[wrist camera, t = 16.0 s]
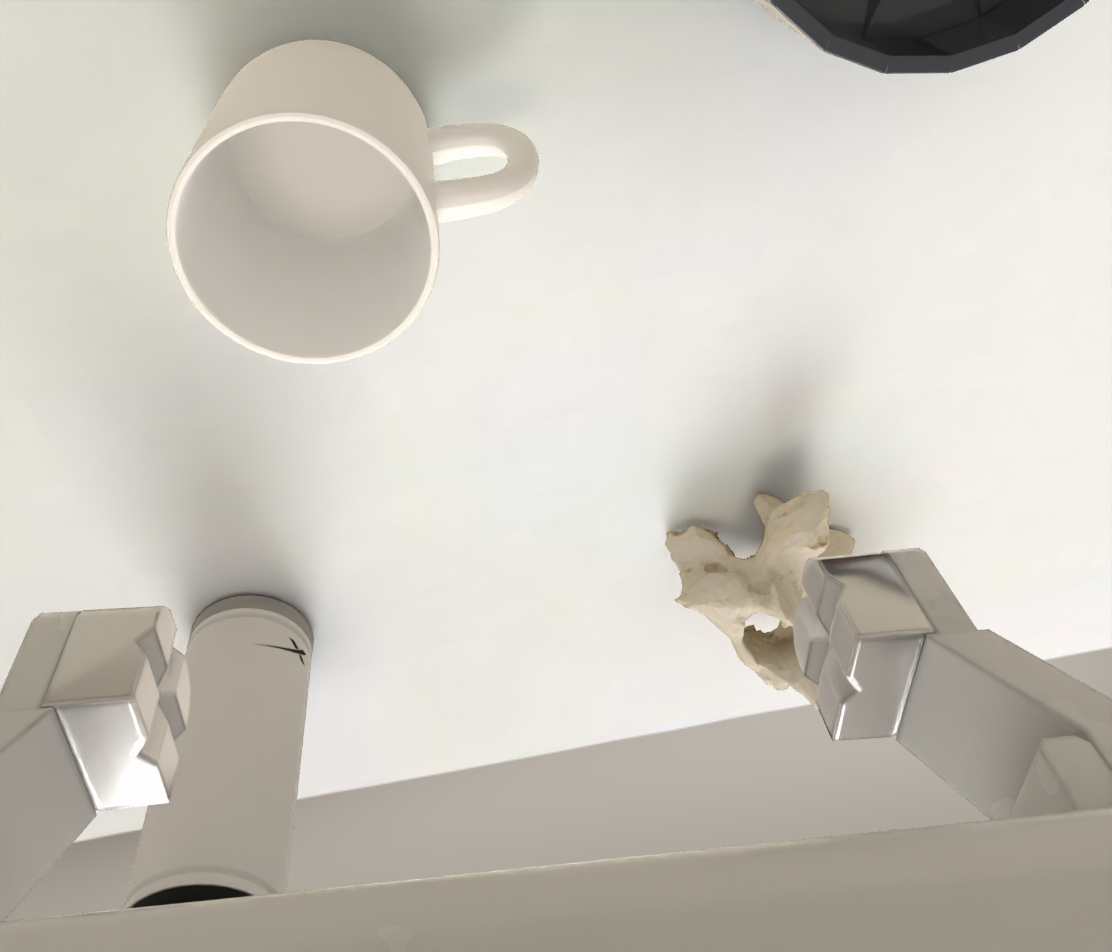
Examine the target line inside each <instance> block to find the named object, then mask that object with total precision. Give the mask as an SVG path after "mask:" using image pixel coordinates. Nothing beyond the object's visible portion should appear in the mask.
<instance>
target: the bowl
mask: <svg viewBox="0 0 1112 952" xmlns="http://www.w3.org/2000/svg"><path fill="white" fill-rule="evenodd" d="M756 1H757V2H759V3H760V4H761V5H762V6H763V7H764V8H765V9H766V10H767V11H769V12H770V13H771V14H772V15H773V16H774V17H775V18H777V19H778V20H779V21H781V22H782V23H784V24H785V25H787V26H788V27H789V28H791V29H792V30H794V31H795V32H797V33H798V34H799V35H801V36H802V37H804V38H805V39H806V40H808V41H809V42H811V43H812V44H814V45H815V46H816V47H818V48H819V49H821V50H822V51H824V52H826V53H829V54H831V55H834V56H837V57H839V58H842V59H845V60H848V61H850V62H853V63H856V64H858V65H861V66H864V67H866V68H869V69H872V70H875V71H877V72H880V73H885V74H908V73H950V72H951V73H952V72H955V71H958V70H961V69H964V68H967V67H970V66H973V65H976V64H979V63H982V62H985V61H988V60H991V59H994V58H997V57H999V56H1002V55H1005V54H1008V53H1011V52H1014V51H1017V50H1018V49H1021V48H1022V47H1024V46H1025V45H1027V44H1028V43H1030V42H1031V41H1033V40H1034V39H1036V38H1037V37H1039V36H1040V35H1042V34H1043V33H1044V32H1046V31H1047V30H1049V29H1050V28H1052V27H1053V26H1055V25H1056V24H1058V23H1059V22H1061V21H1062V20H1064V19H1065V18H1067V17H1068V16H1070V15H1071V14H1073V13H1074V12H1076V11H1077V10H1078V9H1080V8H1081V7H1083V6H1084V4H1086V3H1087V2H1088V1H1089V0H756Z"/></svg>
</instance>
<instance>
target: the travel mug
mask: <svg viewBox="0 0 1112 952" xmlns="http://www.w3.org/2000/svg"><path fill="white" fill-rule="evenodd" d="M312 650H313V634H312V631H311V628H310V626H309V624H308V623H307V621H306V620H305V618H304V617H303V616H302V615H301V614H300V613H299V612H298V611H296V610H295V609H294V608H292V607H291V606H289V605H287V604H286V603H284V602H281V601H279V600H276V599H273V598H269V597H265V596H256V595H243V596H235V597H230V598H226V599H224V600H221V601H218V602H216V603H214V604H213V605H211V606H209V607H208V608H206V609H205V610H204V611H203V612H202V613H201V614H200V615H199V616H198V618H197V619H196V621H195V622H194V624H193V627H192V630H191V634H190V638H189V642H188V646H187V651H186V654H185V659H186V663H187V666H188V670H189V678H190V686H191V694H190V712H189V717H188V722H187V727H186V730H185V731H184V732H183V733H182V734H181V735H180V736H179V737H178V738H176V739H175V740H174V742H175V746H176V749H177V752H178V756H179V762H178V766H177V770H176V775H175V779H174V783H173V787H172V792H171V796H170V800H169V803H162V804H154V805H148V808H147V812H146V816H145V820H144V824H143V828H142V832H141V836H140V840H139V844H138V848H137V852H136V857H135V860H134V864H133V868H132V873H131V876H130V880H129V885H128V888H127V893H126V897H125V901H124V905H123V909H129V908H139V907H149V906H158V905H168V904H178V903H187V902H197V901H207V900H217V899H226V898H236V897H246V896H255V895H265V894H275V893H285V892H287V885H288V877H289V867H290V858H291V848H292V839H293V830H294V820H295V811H296V801H297V792H298V782H299V773H300V764H301V754H302V745H303V735H304V726H305V716H306V707H307V698H308V688H309V679H310V669H311V659H312Z"/></svg>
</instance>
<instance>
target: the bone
mask: <svg viewBox="0 0 1112 952" xmlns="http://www.w3.org/2000/svg"><path fill="white" fill-rule="evenodd" d="M754 505H755V508H756V510H757V512H758V513H759V516H760V518H761V520H762V522H763V524H764V526H765V536H764V538H763V541H762V544H761V546H760V548H759V549H758V551H757V553H756V555H753V556H750V557H749V558H748V557H747V559H740V558H737V557H735V555H734V553H733V551H732V550H731V549H730V548H729V547H728V546H727V545H726V546H725V545H724V544H723V543H722V542H721V541H720V540H718V539H719V538H718V537H717V536H716V535H717V534H718V532H713V531H710V530H708V529H704V528H700V527H696V526H689V527H688V528H686V529H685V530H683V531H682V532H680V533H679V532H677V531H671V532H668V533H667V539H666V542H665V545H666V547H667V548H668V550H669V551H670V553H671V558H672V560H673V561H674V563H675V564H676V565H677V566H678V569H679V571H680V573H679V575H680V577H681V580H682V592H681V595H680V596H679V597H678V598H677V599H675V601H676V602H677V603H680V604H682V605H683V606H684V607H685V608H689V609H692V610H695V611H697V612H699V613H701V614H703V615H704V616H706V617H707V618H708V619H709V620H710V621H711V622H712V623H713V624H715V625H716V626H717V627H718V628H719V629H720V630H721V631H722V632H723V633H724V634H726V635H727V636H728V637H729V638H730V639H731V641H732V644H733V646H734V648H735V650H736V652H737V654H738V657H739V659H740V660H741V661H742V662H743V663H744V664H745V665H746V666H748V667H749V668H750V669H752V670H753V671H754V672H755V673H756V674H757V675H758V676H759V677H760V678H761V679H762V680H763V681H764V682H765V683H766V684H768V685H770V686H773V687H774V688H776V689H777V690H785V689H787V688H788V686H791V687H793V688H794V689H795V690H796V691H797V692H799V693H801V694H802V695H803V696H804V697H805V698H806V699H807V700H808V701H809V702H810V703H811V704H812V706H813V708H814V709H818V707H817V705H816V702H815V700H816V696H817V691H818V685H816V684H815V683H813V682H812V681H811V680H809V679H808V678H806V677H805V676H804V674H803V672H802V670H801V667H800V665H799V662H798V659H797V655H796V651H795V647H794V634H793V623H794V616H795V610H796V606H797V605H798V604H799V603H800V602H801V601H802V600H803V599H804V598H805V597H806V596H807V594H806V592H805V589H804V587H803V585H802V583H801V577H802V573H803V568H804V565H805V563H806V562H807V560H808V558H814V557H826V556H838V555H851V552H852V550H853V547H854V543H855V539H854V538H852V537H851V536H849V535H847V534H845V533H843V532H841V531H838V530H835V529H829V521H828V517H829V514H830V508H829V497H828V493H826V492H825V491H823V490H820V491H815V492H813V493H811V492H806V493H804V494H802V495H797V496H796V497H794V498H792V499H791V500H789V501H787V502H786V503H783V502H782V501H781V500H779V499H778V498H775V497H773V496H771V495H766V494H757V495H756V498H755V500H754ZM757 612H760V613H767V614H769V615H771V616H773V617H776V618H778V619H780V623H779V626H778V628H776V629H775V630H773V631H771V632H767V633H763V632H762V631H761V630H759V631H756V629H755V627H754V625H752V626H746V627H745V621H746V620H747V619H748V618H749V617H750V616H751V614H753V613H757ZM744 627H745V628H744Z"/></svg>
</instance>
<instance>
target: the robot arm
mask: <svg viewBox="0 0 1112 952" xmlns="http://www.w3.org/2000/svg"><path fill="white" fill-rule="evenodd" d="M801 583H802V585H803V587H804V589H805V592H806V594H807V596H806V597H805V598H804V599H803V600H802V601H801V602H800V603H799V604H798V605H797V606H796V610H795V616H794V623H793V634H794V647H795V651H796V655H797V659H798V662H799V665H800V667H801V670H802V672H803V674H804V676H805V677H806V678H808V679H809V680H811V681H812V682H813V683H815V684H816V685H818V691H817V696H816V700H815V702H816V705H817V707H818V709H819V711H820V714H821V716H822V718H823V720H824V723H825V725H826V727H827V730H828V732H829V734H830V736H831V738H832V741H838V740H854V739H868V738H883V737H896V740H897V741H898V742H899V743H900V744H902V745H903V746H904V747H905V748H906V749H907V750H909V751H910V752H911V753H912V754H913V755H914V756H916V757H917V758H918V759H919V760H920V761H922V762H923V763H924V764H925V765H926V766H927V767H929V768H930V769H931V770H932V771H933V772H934V773H936V774H937V775H938V776H939V777H940V778H941V779H943V780H944V781H945V782H946V783H947V784H949V785H950V786H951V787H952V788H953V789H954V790H956V791H957V792H958V793H959V794H960V795H961V796H963V797H964V798H965V799H966V800H968V801H969V802H970V803H971V804H972V805H973V806H974V807H976V808H977V809H978V810H979V811H981V812H982V813H983V814H984V815H985V816H986V817H988V818H989V819H990V820H985V821H975V822H965V823H956V824H946V825H937V826H926V827H918V828H907V829H898V830H888V831H878V832H869V833H859V834H850V835H840V836H830V837H821V838H811V839H801V840H791V841H781V842H773V843H762V844H753V845H742V846H733V847H722V848H713V849H703V850H693V851H683V852H673V853H664V854H654V855H644V856H635V857H625V858H614V859H605V860H595V861H585V862H576V863H566V864H558V865H547V866H537V867H527V868H518V869H508V870H498V871H489V872H479V873H469V874H459V875H450V876H440V877H430V878H421V879H411V880H401V881H392V882H383V883H372V884H362V885H353V886H343V887H334V888H324V889H314V890H304V891H295V892H285V893H275V894H265V895H255V896H246V897H236V898H226V899H217V900H207V901H197V902H187V903H178V904H168V905H158V906H149V907H139V908H129V909H120V910H110V911H100V912H92V913H91V912H90V913H81V914H71V915H61V916H51V917H42V918H33V919H22V920H14V921H5V920H6V919H7V918H8V916H9V915H10V914H11V913H12V912H13V911H14V910H15V908H16V907H17V906H18V905H19V904H20V903H21V901H22V900H23V899H24V898H25V897H26V896H27V894H28V893H29V892H30V891H31V890H32V889H33V888H34V887H35V885H36V884H37V883H38V882H39V880H41V878H42V877H43V876H44V875H45V874H46V873H47V872H48V871H49V869H50V868H51V867H52V866H53V865H54V864H55V862H56V861H57V860H58V859H59V858H60V857H61V856H62V854H63V853H64V852H65V851H66V850H67V849H68V848H69V846H70V845H71V844H72V843H73V842H74V841H75V840H76V838H77V837H78V836H79V835H80V834H81V833H82V832H83V830H84V829H85V828H86V827H87V826H88V825H89V823H90V822H91V821H92V820H93V819H94V818H95V817H96V812H95V811H104V810H112V809H120V808H129V807H137V806H146V805H154V804H162V803H169V800H170V796H171V792H172V787H173V783H174V779H175V775H176V770H177V766H178V762H179V756H178V752H177V749H176V746H175V742H174V740H175V739H176V738H178V737H179V736H180V735H181V734H182V733H183V732H184V731H185V730H186V727H187V722H188V717H189V712H190V694H191V686H190V678H189V670H188V666H187V663H186V659H185V655H183V654H182V653H181V652H179V651H178V650H176V649H175V648H174V647H173V643H174V639H175V635H176V631H177V628H176V625H175V622H174V619H173V616H172V613H171V610H170V609H169V608H167V607H165V606H155V607H136V608H117V609H98V610H83V611H75V612H55V613H41V614H39V615H38V616H37V617H36V618H35V619H33V621H32V622H31V624H30V626H29V628H28V630H27V633H26V635H25V637H24V640H23V642H22V644H21V646H20V649H19V651H18V653H17V655H16V658H15V660H14V662H13V664H12V667H11V669H10V671H9V673H8V676H7V678H6V680H5V683H4V685H3V687H2V689H1V692H0V952H1112V699H1110V698H1109V697H1107V696H1105V695H1103V694H1102V693H1100V692H1098V691H1096V690H1095V689H1093V688H1091V687H1089V686H1087V685H1086V684H1084V683H1082V682H1080V681H1079V680H1077V679H1075V678H1073V677H1072V676H1070V675H1068V674H1066V673H1065V672H1062V671H1061V670H1059V669H1058V668H1056V667H1054V666H1052V665H1050V664H1049V663H1047V662H1045V661H1043V660H1042V659H1040V658H1038V657H1036V656H1035V655H1033V654H1031V653H1029V652H1027V651H1026V650H1024V649H1022V648H1020V647H1019V646H1017V645H1015V644H1013V643H1012V642H1010V641H1008V640H1006V639H1005V638H1003V637H1001V636H999V635H997V634H996V633H994V632H992V631H990V630H989V629H987V630H977V628H976V627H975V625H974V624H973V622H972V621H971V619H970V618H969V616H968V615H967V613H966V612H965V610H964V609H963V607H962V606H961V604H960V603H959V601H958V600H957V598H956V597H955V595H954V594H953V592H952V591H951V589H950V588H949V586H948V585H947V583H946V582H945V580H944V579H943V577H942V576H941V574H940V573H939V571H938V570H937V568H936V567H935V565H934V564H933V562H932V561H931V559H930V558H929V556H928V555H927V553H926V552H925V551H923V550H921V549H920V548H911V549H901V550H890V551H882V552H881V553H880V552H875V553H863V554H851V555H838V556H826V557H814V558H808V560H807V562H806V563H805V565H804V568H803V573H802V577H801Z"/></svg>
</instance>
